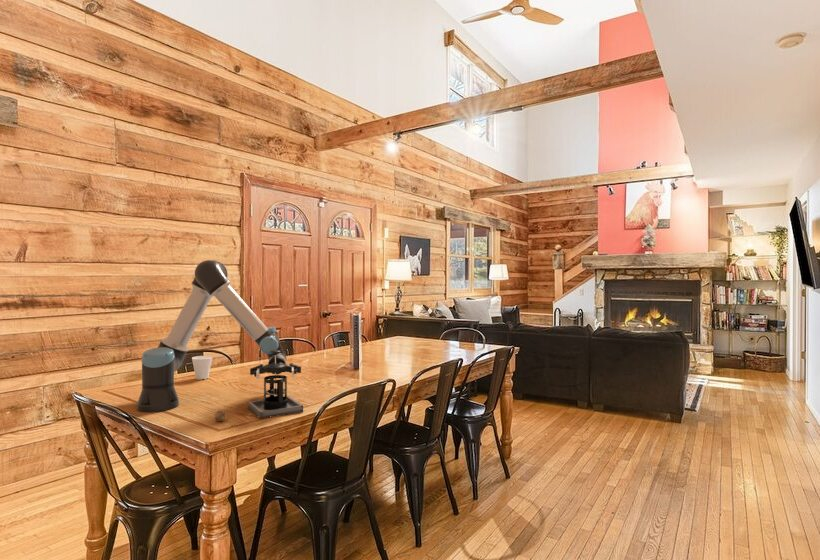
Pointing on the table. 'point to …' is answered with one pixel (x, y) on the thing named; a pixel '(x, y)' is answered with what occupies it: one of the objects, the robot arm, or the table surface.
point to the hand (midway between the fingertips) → (275, 374)
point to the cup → (202, 366)
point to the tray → (261, 412)
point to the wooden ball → (220, 415)
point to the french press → (278, 400)
